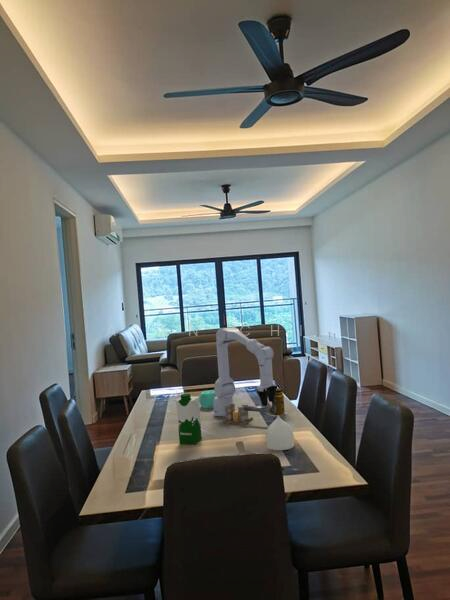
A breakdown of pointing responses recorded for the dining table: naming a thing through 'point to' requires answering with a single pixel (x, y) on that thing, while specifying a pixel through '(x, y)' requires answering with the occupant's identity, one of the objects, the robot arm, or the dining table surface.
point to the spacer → (235, 415)
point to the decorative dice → (207, 399)
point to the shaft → (261, 409)
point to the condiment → (278, 403)
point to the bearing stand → (241, 413)
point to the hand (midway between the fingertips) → (268, 403)
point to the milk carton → (188, 419)
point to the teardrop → (279, 435)
